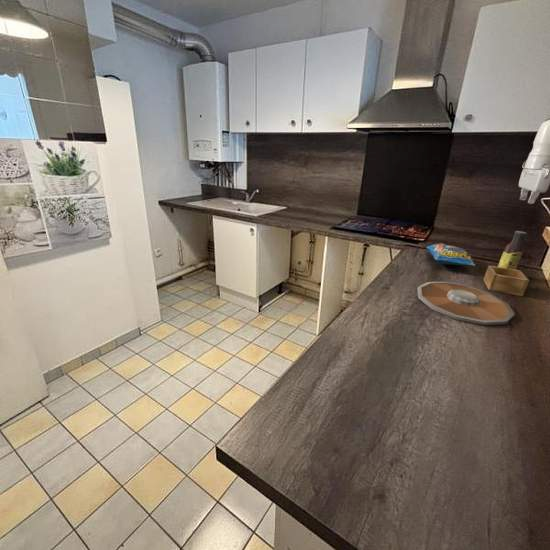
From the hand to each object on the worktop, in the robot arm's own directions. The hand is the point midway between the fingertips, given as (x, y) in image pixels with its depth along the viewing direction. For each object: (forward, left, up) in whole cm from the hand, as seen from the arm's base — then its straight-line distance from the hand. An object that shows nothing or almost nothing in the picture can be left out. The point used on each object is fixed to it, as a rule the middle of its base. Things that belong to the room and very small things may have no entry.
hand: (526, 201), depth 115 cm
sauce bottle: (-3, -3, -33) cm, 33 cm away
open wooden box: (+1, +13, -32) cm, 35 cm away
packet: (+19, -7, -33) cm, 39 cm away
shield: (+18, +36, -33) cm, 52 cm away
